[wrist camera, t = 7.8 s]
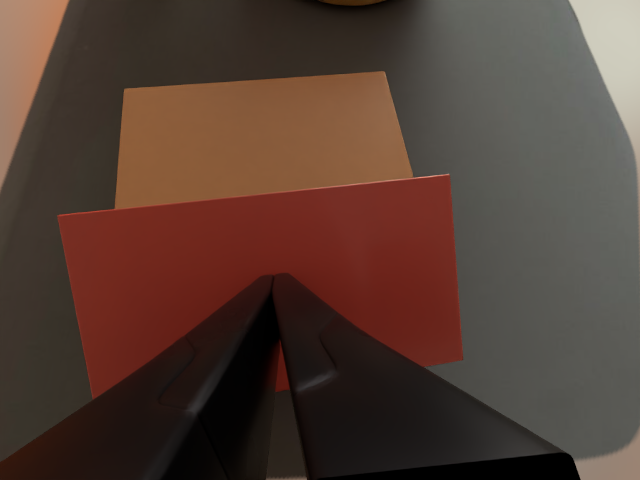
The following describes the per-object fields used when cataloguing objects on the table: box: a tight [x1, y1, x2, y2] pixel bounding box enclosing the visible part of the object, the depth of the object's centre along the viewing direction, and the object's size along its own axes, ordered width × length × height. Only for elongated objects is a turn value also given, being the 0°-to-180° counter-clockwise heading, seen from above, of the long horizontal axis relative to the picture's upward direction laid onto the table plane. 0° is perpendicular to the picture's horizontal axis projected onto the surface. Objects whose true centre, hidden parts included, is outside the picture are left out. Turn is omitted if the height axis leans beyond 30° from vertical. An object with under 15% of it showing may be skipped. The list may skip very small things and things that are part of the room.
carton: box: [115, 71, 413, 209], centre depth 14 cm, size 13×12×8 cm
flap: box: [58, 174, 463, 399], centre depth 9 cm, size 6×12×1 cm, turn 98°
